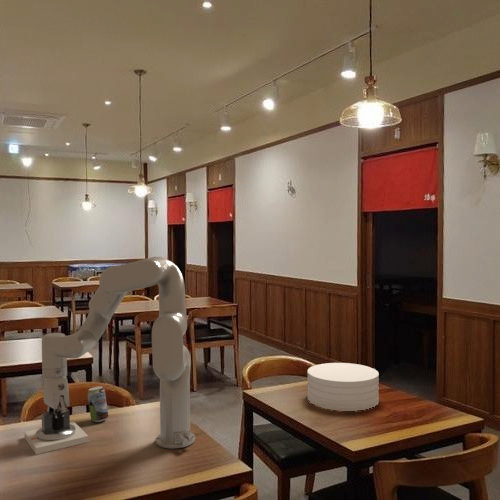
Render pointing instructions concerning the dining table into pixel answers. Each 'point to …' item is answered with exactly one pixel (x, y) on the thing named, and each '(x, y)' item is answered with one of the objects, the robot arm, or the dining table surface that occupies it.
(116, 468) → the dining table surface
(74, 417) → the dining table surface
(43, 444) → the dial base
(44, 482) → the dining table surface
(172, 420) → the robot arm
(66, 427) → the dial
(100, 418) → the beverage can
